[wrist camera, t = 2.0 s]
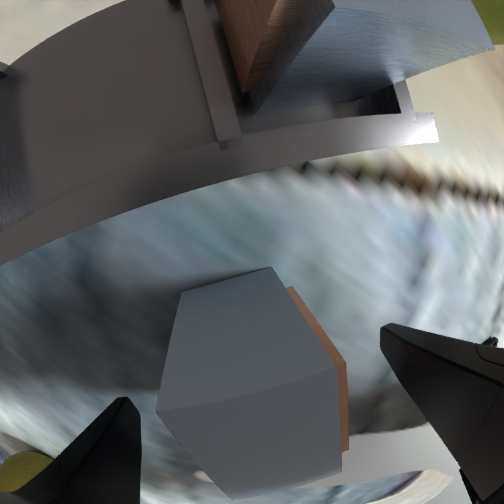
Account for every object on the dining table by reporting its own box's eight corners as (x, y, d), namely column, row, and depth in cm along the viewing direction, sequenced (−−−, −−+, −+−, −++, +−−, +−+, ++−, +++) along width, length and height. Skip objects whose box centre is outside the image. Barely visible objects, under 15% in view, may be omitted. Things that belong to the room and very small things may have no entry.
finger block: (303, 362, 12) (353, 467, 6) (221, 385, 12) (232, 500, 6) (281, 263, 10) (355, 358, 5) (181, 291, 10) (155, 411, 4)
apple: (0, 426, 11) (-28, 480, 4) (65, 448, 12) (41, 521, 5) (42, 474, 13) (26, 522, 6) (106, 492, 14) (96, 551, 7)
